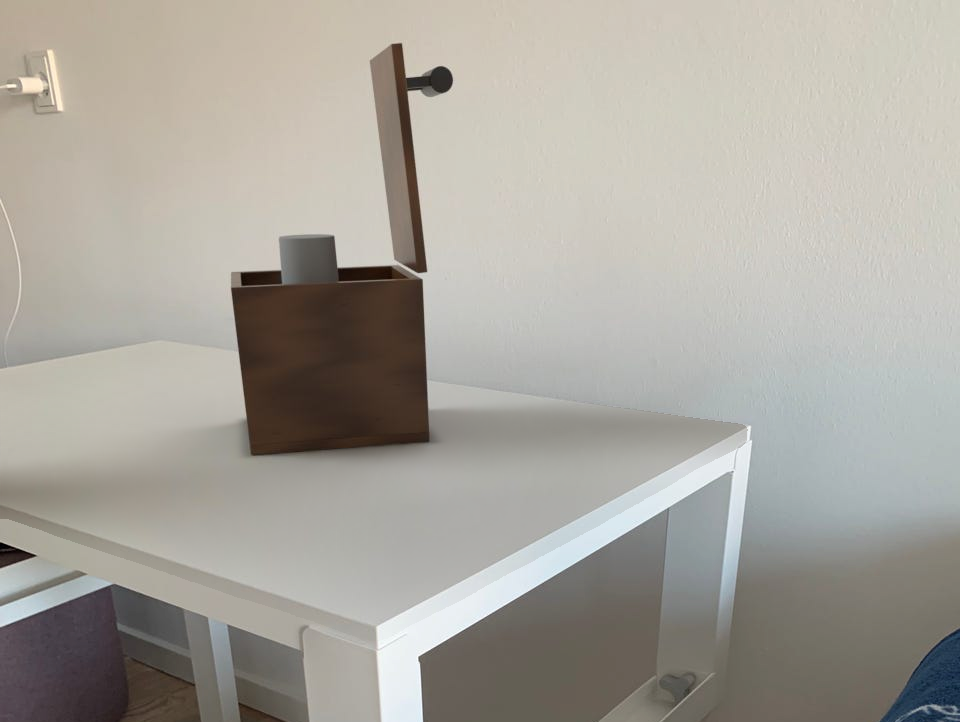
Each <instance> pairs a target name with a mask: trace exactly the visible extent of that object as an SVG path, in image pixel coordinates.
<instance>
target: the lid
mask: <svg viewBox="0 0 960 722" xmlns="http://www.w3.org/2000/svg"><path fill="white" fill-rule="evenodd" d="M403 46H404V45H403V43H402V42H398V43H391V44H389V45H388V46H387V47H386V48H384V49H383V50H382V51H380V52H379V53H378V54H376V55H375V56H373V57H372V58H371V59H370V60H369V66H370V75H371V82H372V91H373V99H374V106H375V115H376V122H377V131H378V139H379V140H378V141H379V148H380V155H381V163H382V171H383V180H384V187H385V196H386V203H387V204H386V205H387V212H388V220H389V229H390V236H391V243H392V244H391V245H392V252H393V260H394V261H396V262H397V263H399V264H401V265H402V266H404V267H406V268H408V269H409V270H411V271H413V272H415V273H417V274H425V273H428V266H427V254H426V246H425V239H424V238H425V237H424V229H423V220H422V219H423V218H422V210H421V202H420V193H419V192H420V191H419V184H418V183H419V182H418V173H417V163H416V155H415V147H414V139H413V129H412V120H411V119H412V118H411V110H410V101H409V93H408V92H415V91H417V92H418V91H420V92H421V93H422V95H424V96H425V97H428V98H433V97H437V96H440V95H442V94H445V93H447V92H449V91H450V89H451V88H452V87H453V84H454V77H453V73H452V71H451V70H450V69H449V68H448V67H446V66H444V65H439V66H436V67H434V68H432V69H430V70H427V71H426V72H423V73H422V75H420V76H410V77H407V74H406V65H405V56H404V55H405V54H404V47H403Z"/></svg>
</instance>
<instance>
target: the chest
mask: <svg viewBox="0 0 960 722" xmlns="http://www.w3.org/2000/svg"><path fill="white" fill-rule="evenodd" d="M337 267H338V266H337ZM338 277H339V282H322V283H300V284H282V275H281V269H269V270H247V271H231V272H230V291H231V292H230V293H231V302H232V309H233V317H234V325H235V334H236V342H237V350H238V357H239V358H238V359H239V367H240V374H241V375H240V376H241V384H242V392H243V399H244V400H243V401H244V407H245V417H246V424H247V425H246V426H247V433H248V441H249V448H250V455H251V456H254V455H255V456H256V455H266V454H267V455H268V454H282V453H294V452H307V451H308V452H309V451H321V450H336V449H348V448H360V447H362V448H363V447H373V446H375V447H376V446H385V445H400V444H413V443H425V442H426V443H428V442H430V418H429V395H428V394H429V393H428V373H427V372H428V371H427V369H428V368H427V348H426V347H427V346H426V326H425V325H426V323H425V301H424V297H425V296H424V280H423V278H421V277H419V276H418V275H416V274H414V273H413V272H411V271H409V269H406V268H404V267H403V266H401V265H399V264H388V265H387V264H386V265H366V266H365V265H364V266H341V267H338Z"/></svg>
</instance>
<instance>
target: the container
mask: <svg viewBox="0 0 960 722" xmlns="http://www.w3.org/2000/svg"><path fill="white" fill-rule="evenodd" d="M278 245H279V246H278V248H279V260H280V270H281V275H282V284H300V283H322V282H339V277H338V259H337V258H338V257H337V249H336V237H335V235H334V234H327V233H326V234H323V233H321V234H320V233H319V234H317V233H316V234H315V233H313V234H290V235H281V236H279V237H278Z"/></svg>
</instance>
